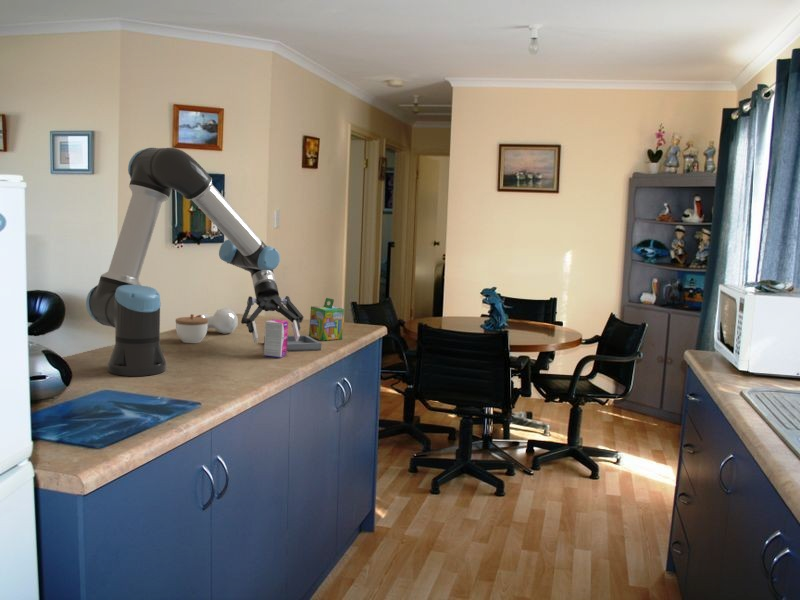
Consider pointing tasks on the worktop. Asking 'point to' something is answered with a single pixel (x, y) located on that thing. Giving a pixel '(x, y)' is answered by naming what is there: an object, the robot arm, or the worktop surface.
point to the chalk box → (326, 321)
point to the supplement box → (276, 338)
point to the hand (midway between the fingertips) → (277, 339)
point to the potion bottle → (222, 320)
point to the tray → (302, 343)
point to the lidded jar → (191, 328)
